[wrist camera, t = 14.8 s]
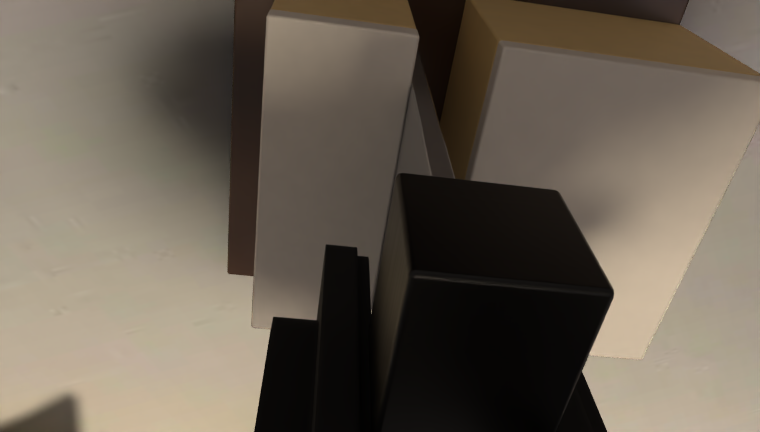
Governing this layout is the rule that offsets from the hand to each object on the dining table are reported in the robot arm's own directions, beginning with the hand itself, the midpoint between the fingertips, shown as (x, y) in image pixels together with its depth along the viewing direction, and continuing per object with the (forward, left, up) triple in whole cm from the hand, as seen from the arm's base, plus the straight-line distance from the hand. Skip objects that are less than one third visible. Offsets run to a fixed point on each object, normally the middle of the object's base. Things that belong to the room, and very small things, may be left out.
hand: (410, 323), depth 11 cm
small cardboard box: (0, -2, -9) cm, 9 cm away
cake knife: (0, 0, -8) cm, 8 cm away
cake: (0, +4, -9) cm, 10 cm away
